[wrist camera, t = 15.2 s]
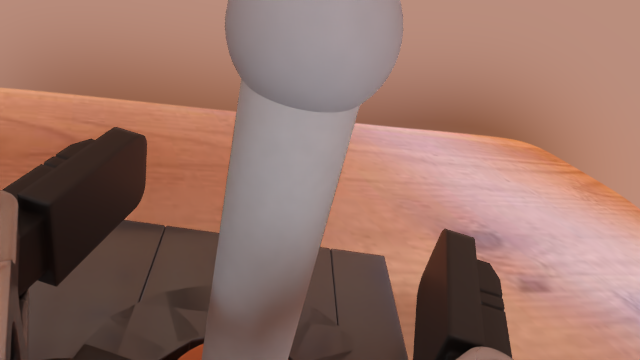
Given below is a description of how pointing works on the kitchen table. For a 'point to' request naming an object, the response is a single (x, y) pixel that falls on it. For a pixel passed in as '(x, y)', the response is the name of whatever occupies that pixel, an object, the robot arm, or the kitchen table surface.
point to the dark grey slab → (202, 301)
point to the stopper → (288, 157)
